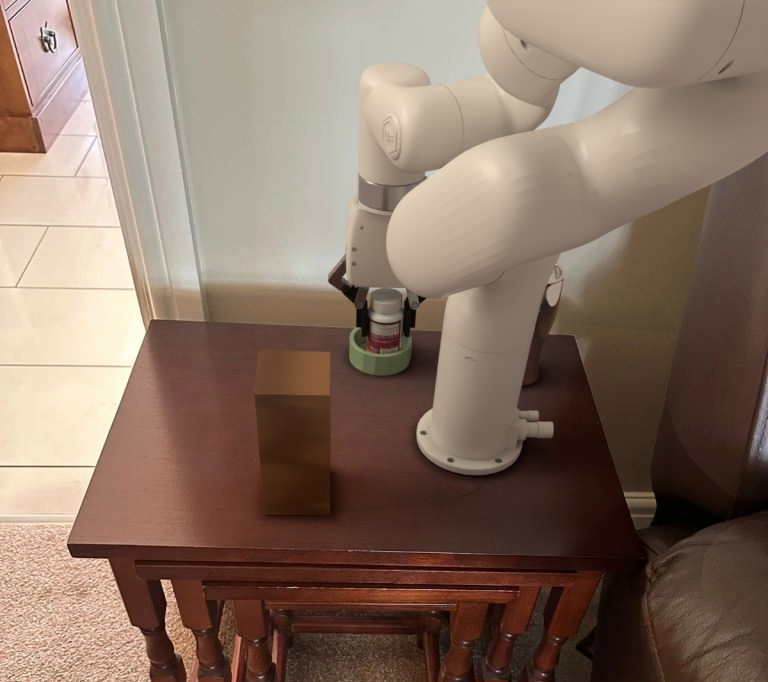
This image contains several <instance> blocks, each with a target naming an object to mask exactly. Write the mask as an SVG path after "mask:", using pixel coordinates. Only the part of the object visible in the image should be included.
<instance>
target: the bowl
mask: <svg viewBox="0 0 768 682" xmlns="http://www.w3.org/2000/svg"><path fill="white" fill-rule="evenodd" d="M348 339H349V340H348V341H349V342H348V353H349V354H348V359H349V362H350V364H351V365H352V366H353V367H354V368H355V369H356V370H358V371H360V372H361V373H364V374H367V375H372V376H379V377H380V376H386V377H387V376H391V375H396V374H399V373H400V372H403V371H404V370H405V369H406V368H408V366H409V364H410V362H411V359H412V348H413V338H412V334H410V337H405V336H404V332H403V349H401V350H399V351H398V352H395V353H390V354H375V353H371V352H367V336H366V337H362V330H361V328H356V327H354V328H353V329H352V330H351V332H350V333H349V337H348Z"/></svg>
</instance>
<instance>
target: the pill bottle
mask: <svg viewBox="0 0 768 682" xmlns="http://www.w3.org/2000/svg"><path fill="white" fill-rule="evenodd" d="M369 297H370V298H369V300H370V301H369V304H370V305H369V306H368V329H367V352H371V353H375V354H390V353H395V352H398V351H399V350H401V349H403V332H404V307H403V294H402V293H401V291H399V290H398V289H396V288H375V290H372V292H371V293H370V296H369Z"/></svg>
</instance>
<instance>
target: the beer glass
mask: <svg viewBox="0 0 768 682" xmlns="http://www.w3.org/2000/svg"><path fill="white" fill-rule="evenodd" d="M565 273H566V272H565V269H564V268H563V266H561V265H560V264H559V263H558V262H557V263H556V265H555V267H554V270H553V272H552V274H551V276H550V278H549V281H548V283H547V286H546V289H545V291H544V294H543V298H542V301H541V304H540V308H539V312H538V316H537V320H536V324H535V329H534V333H533V337H532V341H531V345H530V350H529V355H528V359H527V364H526V368H525V373H524V377H523V382H522V386H521V387H528V386H531V385H533V384H534V383H535V382H537V381H538V379H539V376H540V361H541V360H540V358H541V354H542V351H543V349H544V345H545V343H546V342H547V339H548V336H549V334H550V332H551V330H552V329H553V326H554V322H555V320H556V318H557V315H558V311H559V307H560V302H561V298H562V293H563V286H564V280H565V279H564V278H565V275H566V274H565Z"/></svg>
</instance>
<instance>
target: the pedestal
mask: <svg viewBox="0 0 768 682" xmlns="http://www.w3.org/2000/svg"><path fill="white" fill-rule="evenodd" d="M331 357H332V353H331V351H304V350H303V351H302V350H301V351H298V350H297V351H296V350H259V351H258V358H257V366H256V373H255V374H256V375H255V382H254V389H253V390H254V391H253V398H254V410H255V423H256V435H257V436H256V437H257V445H258V446H257V447H258V458H259V470H260V483H261V493H262V495H261V496H262V508H263V515H264V516H330V515H331V406H332V405H331V404H332V403H331V394H332V393H331V391H332V390H331V389H332V388H331V387H332V386H331V383H332V382H331V379H332V377H331V376H332V375H331V373H332V371H331V370H332V368H331V366H332V362H331V361H332V358H331Z"/></svg>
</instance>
